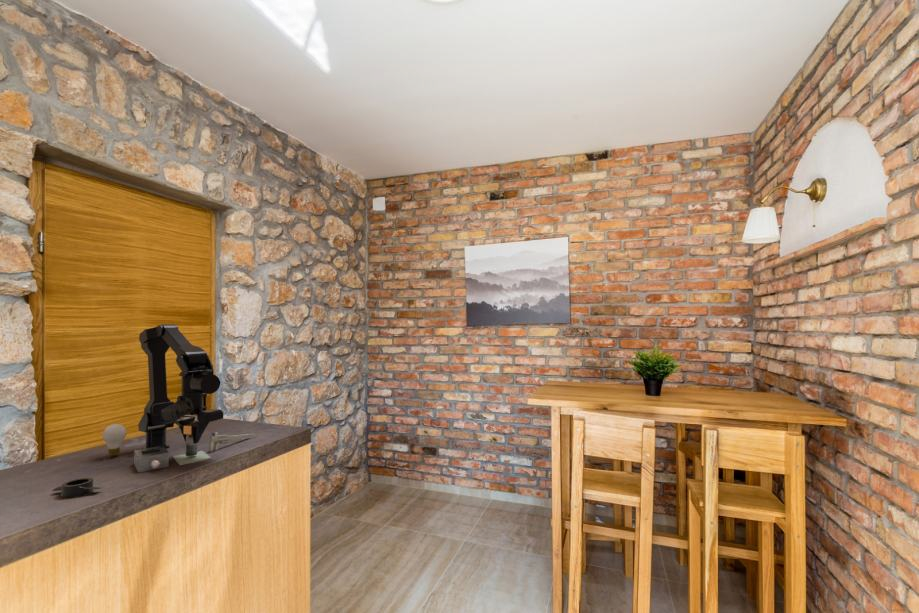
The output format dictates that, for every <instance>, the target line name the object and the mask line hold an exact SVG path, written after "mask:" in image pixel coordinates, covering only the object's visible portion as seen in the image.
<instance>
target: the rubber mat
mask: <svg viewBox="0 0 919 613" xmlns="http://www.w3.org/2000/svg"><path fill="white" fill-rule="evenodd" d="M172 459H174V461H175V462H176V463H177V464H178V465H179V466H182V465H183V466H184V465H187V464H193V463H197V462H198V463H199V462H203V461H208V460H209V461H210V460H211V459H212V457H211V456H210V455H208V454H207V453H206V452H205V451H204V450H200V451H197V455H194V456H186V453H184V454H179V455H173V456H172Z"/></svg>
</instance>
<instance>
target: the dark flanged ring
mask: <svg viewBox="0 0 919 613" xmlns="http://www.w3.org/2000/svg"><path fill="white" fill-rule="evenodd" d="M100 489H101V487H99V486H98V487H97V486H94V478H93V477H82V478H75V479H73V480H69V481H66V482H64V483H61V485H60V486H57V487H55V488H54V489H52V490H51V491H52V492H58V491H60V492H61V493H60V497H61V498H62V499H71V498H77V497H78V498H79V497H82V496H85V495H88V494H90V493H92V492H93V491H94V490H100Z"/></svg>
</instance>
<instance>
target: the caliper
mask: <svg viewBox="0 0 919 613" xmlns="http://www.w3.org/2000/svg"><path fill="white" fill-rule="evenodd" d="M218 433H219V432H217V431H216V432H212V433H211V435H210V436H209V439H208V449H207V450H208V451H207V452H208V453H213V452H217V451H218V448H219V446H220V444H228V443H229V441H236V440H247V439H249V440H250V439H252V438H255V437H257V436H258V435H257V434H255V433H246V434H245V433H244V434H237V435H236V434H234V435H229V434H218Z"/></svg>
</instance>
